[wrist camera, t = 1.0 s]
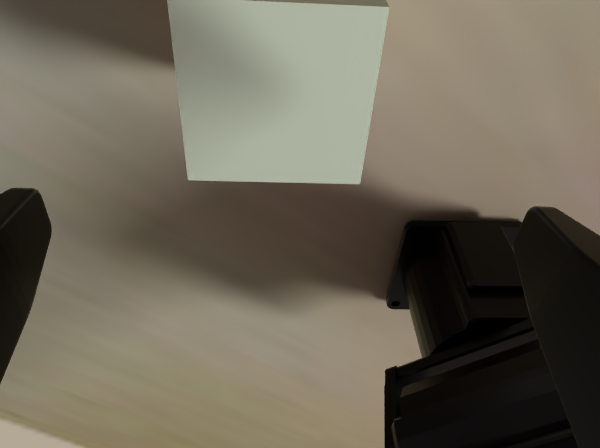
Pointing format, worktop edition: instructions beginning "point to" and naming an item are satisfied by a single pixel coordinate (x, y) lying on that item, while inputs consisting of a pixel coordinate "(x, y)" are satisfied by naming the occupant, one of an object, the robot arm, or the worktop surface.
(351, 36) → the cream block
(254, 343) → the worktop surface
